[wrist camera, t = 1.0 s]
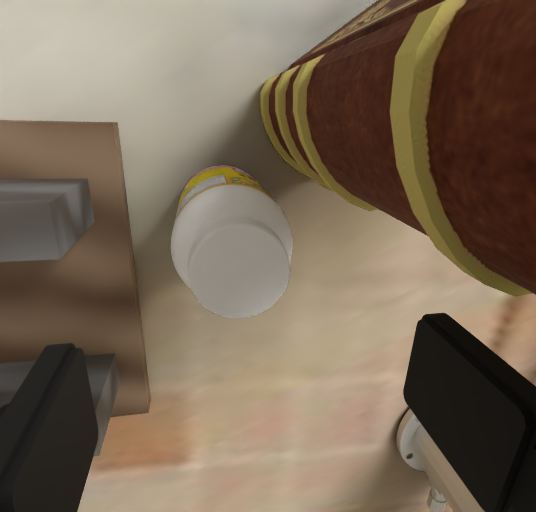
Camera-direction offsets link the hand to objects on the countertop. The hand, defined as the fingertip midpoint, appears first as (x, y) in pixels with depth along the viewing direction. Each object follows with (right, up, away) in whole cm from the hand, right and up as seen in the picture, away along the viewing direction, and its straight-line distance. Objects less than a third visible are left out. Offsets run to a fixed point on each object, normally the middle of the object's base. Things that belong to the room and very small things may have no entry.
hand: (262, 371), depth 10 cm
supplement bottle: (-3, +7, +18) cm, 20 cm away
